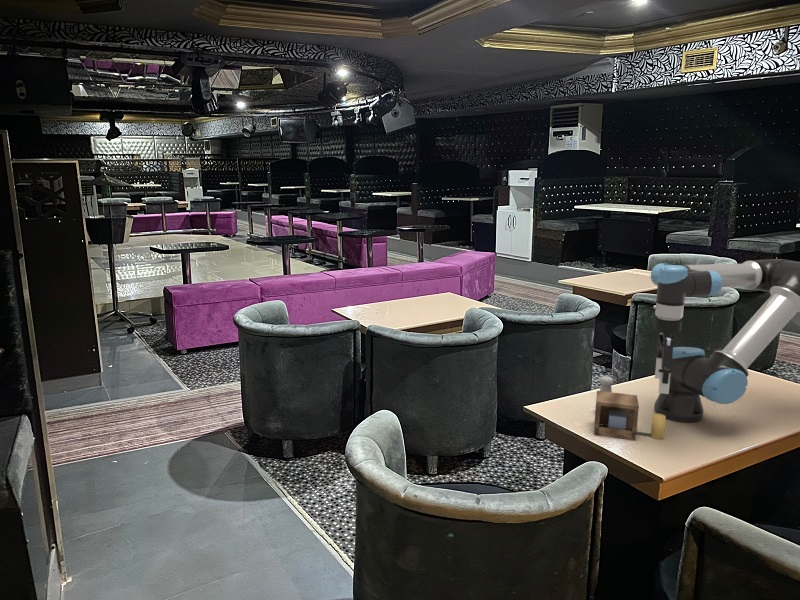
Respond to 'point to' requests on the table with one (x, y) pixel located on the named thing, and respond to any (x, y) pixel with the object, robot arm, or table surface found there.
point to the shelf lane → (617, 403)
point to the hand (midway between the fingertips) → (661, 385)
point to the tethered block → (657, 432)
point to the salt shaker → (606, 383)
